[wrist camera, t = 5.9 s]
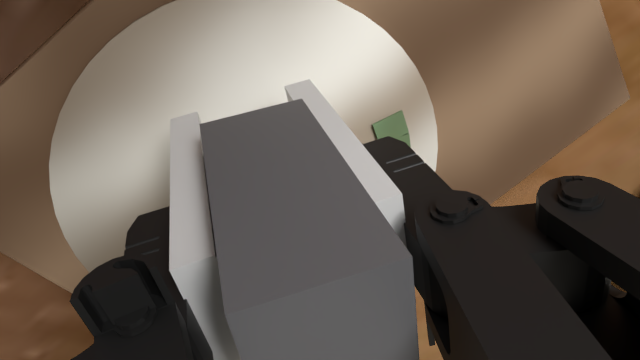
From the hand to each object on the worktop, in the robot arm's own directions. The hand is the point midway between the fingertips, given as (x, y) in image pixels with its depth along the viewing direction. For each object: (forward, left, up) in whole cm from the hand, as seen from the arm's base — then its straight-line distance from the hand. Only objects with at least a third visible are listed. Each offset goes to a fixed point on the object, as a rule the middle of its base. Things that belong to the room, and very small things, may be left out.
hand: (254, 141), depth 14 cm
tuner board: (+3, +2, -7) cm, 7 cm away
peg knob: (+4, +1, -2) cm, 4 cm away
